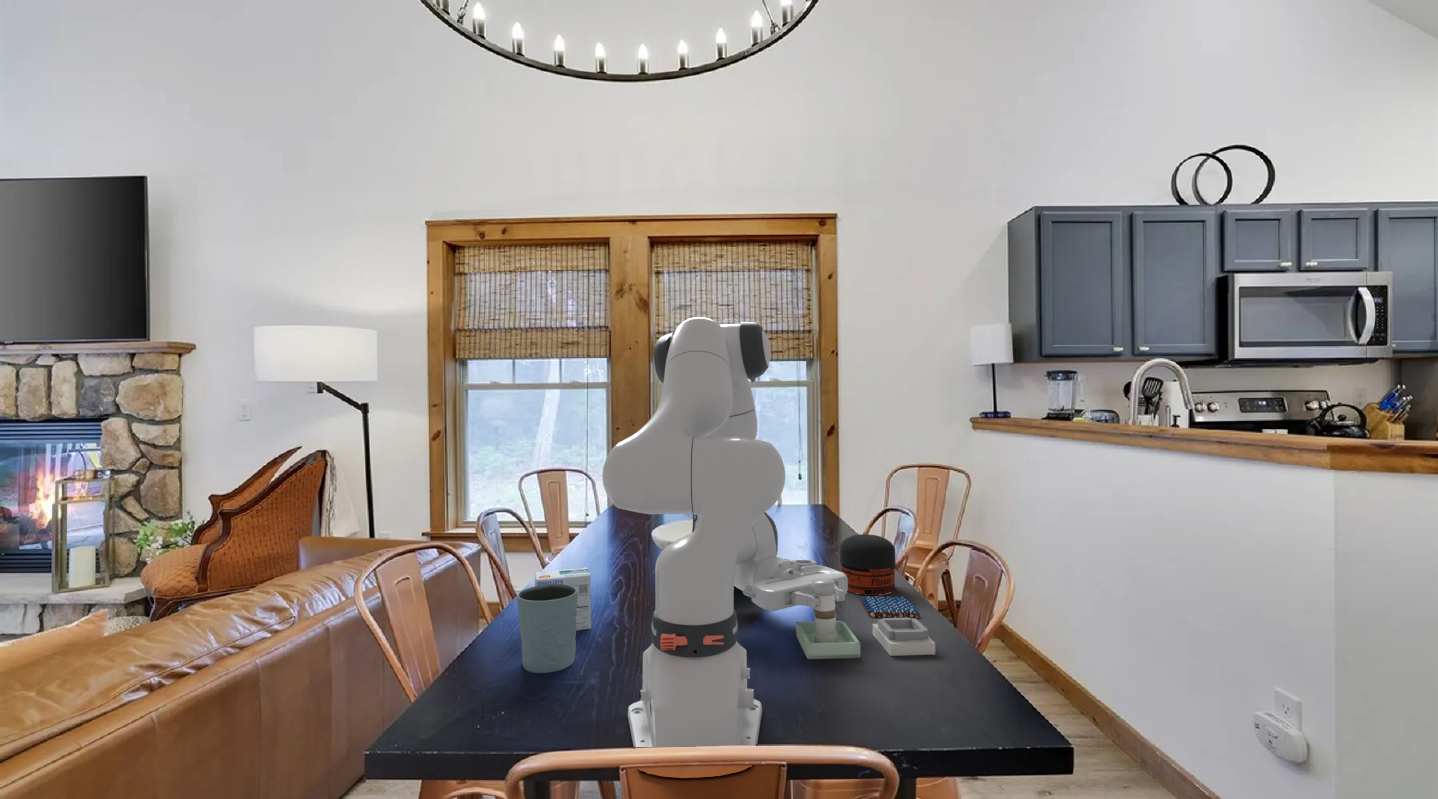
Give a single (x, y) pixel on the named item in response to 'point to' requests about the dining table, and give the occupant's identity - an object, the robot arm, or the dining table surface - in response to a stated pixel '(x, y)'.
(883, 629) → the block
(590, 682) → the dining table surface
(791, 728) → the dining table surface
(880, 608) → the woven mat
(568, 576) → the light bulb box
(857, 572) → the oil filter
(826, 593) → the cylinder
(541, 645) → the green cup
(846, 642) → the tray
